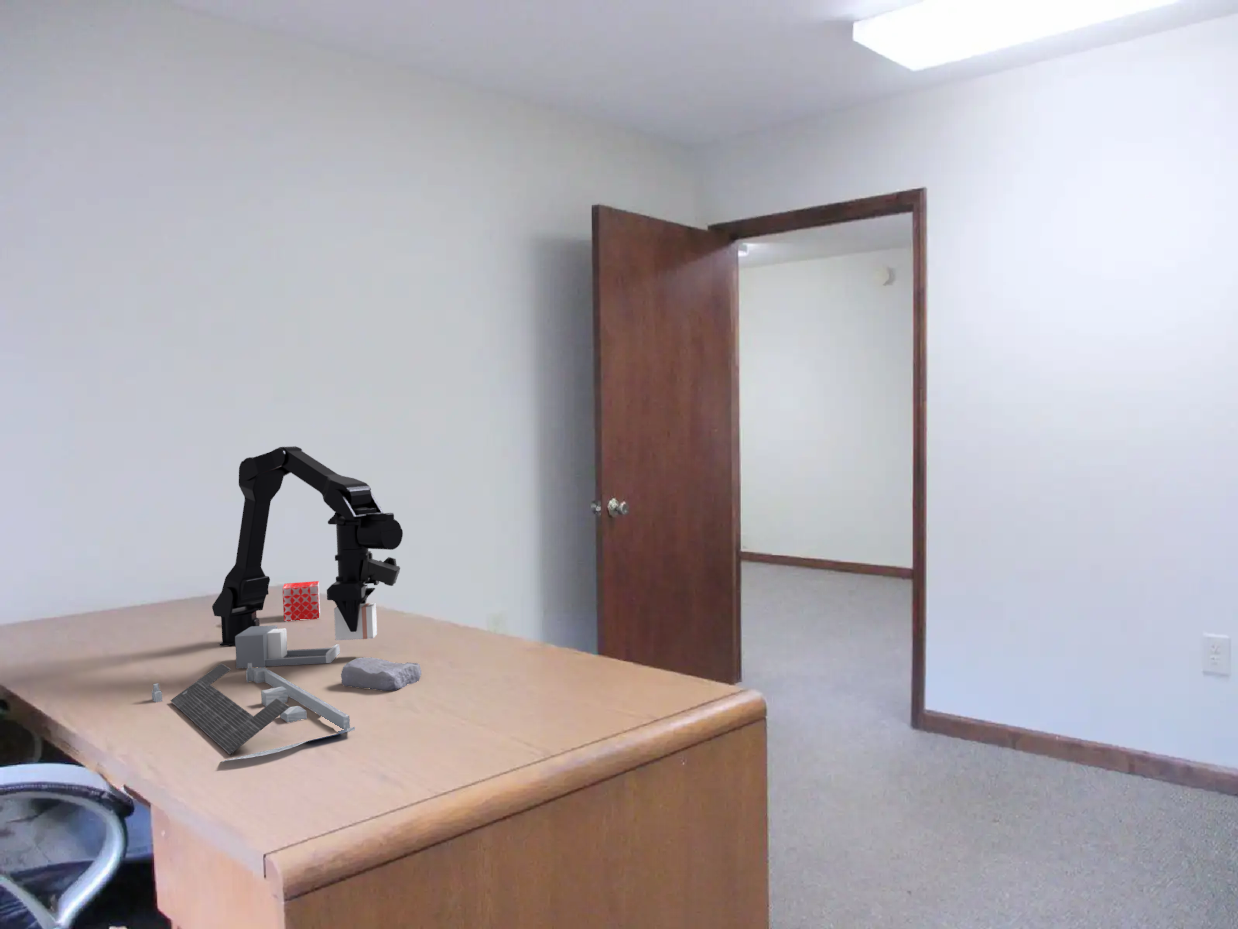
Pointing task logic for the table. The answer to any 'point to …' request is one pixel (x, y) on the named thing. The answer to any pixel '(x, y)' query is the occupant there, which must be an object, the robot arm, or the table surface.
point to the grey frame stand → (275, 649)
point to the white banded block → (365, 624)
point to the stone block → (379, 674)
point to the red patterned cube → (301, 600)
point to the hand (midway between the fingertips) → (356, 629)
